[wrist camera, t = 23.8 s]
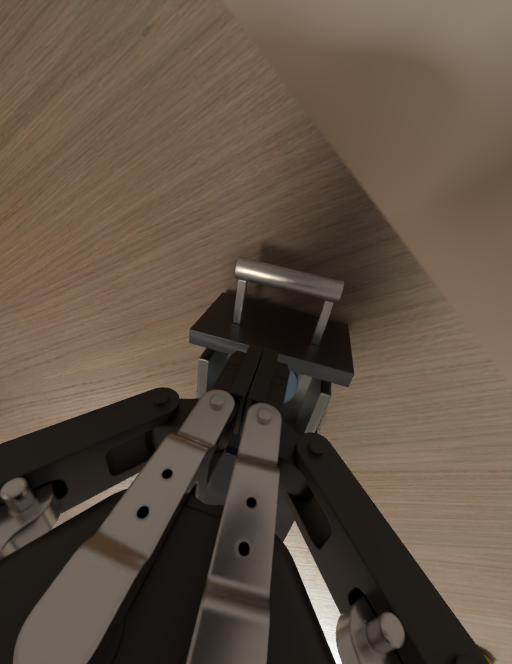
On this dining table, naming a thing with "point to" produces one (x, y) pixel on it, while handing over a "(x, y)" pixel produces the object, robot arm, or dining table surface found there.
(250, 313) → the drawer
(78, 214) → the dining table surface
